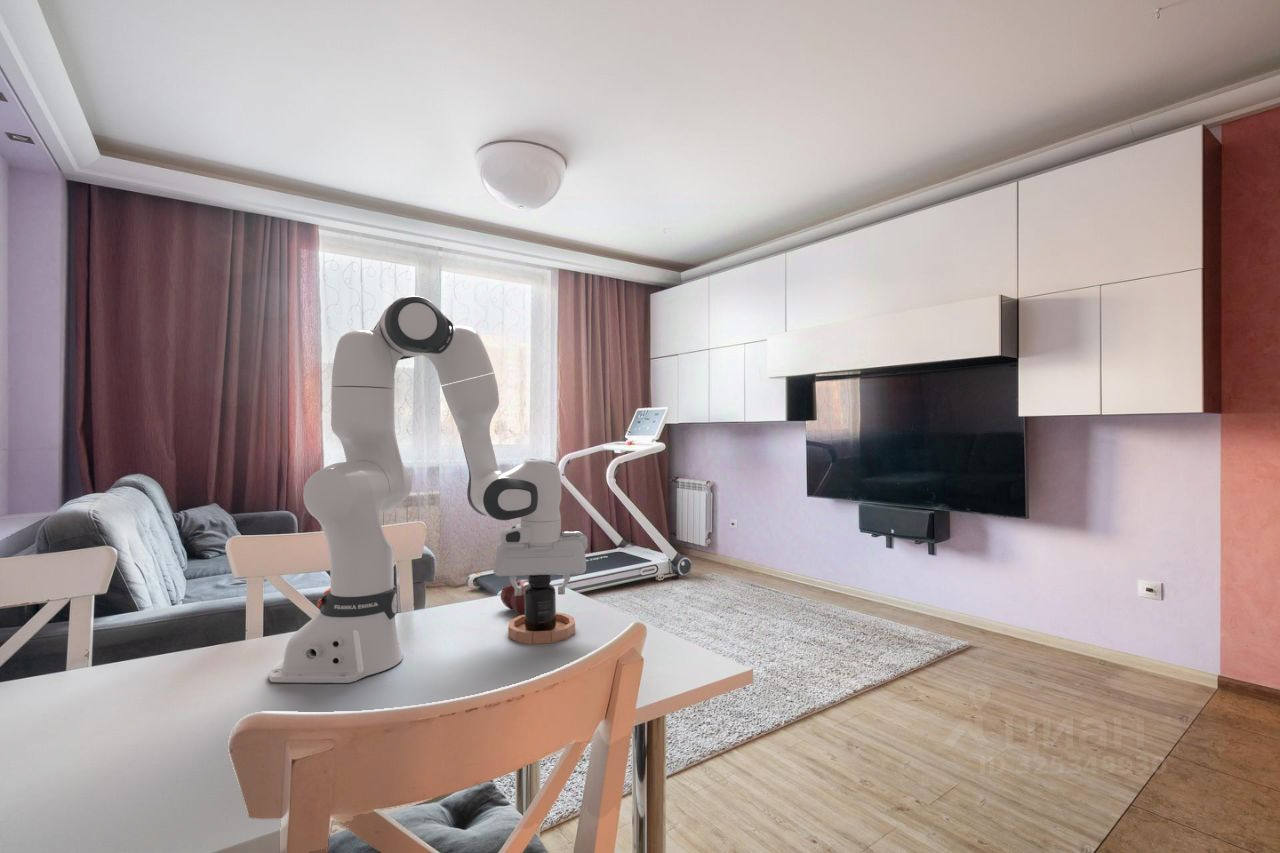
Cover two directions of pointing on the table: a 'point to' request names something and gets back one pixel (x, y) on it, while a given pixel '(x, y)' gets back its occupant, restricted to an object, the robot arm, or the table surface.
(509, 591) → the heart
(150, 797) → the table surface
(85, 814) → the table surface
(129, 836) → the table surface
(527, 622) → the supplement bottle
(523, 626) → the tray
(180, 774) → the table surface
